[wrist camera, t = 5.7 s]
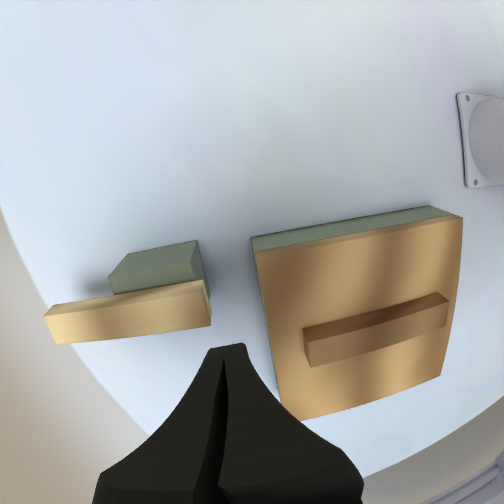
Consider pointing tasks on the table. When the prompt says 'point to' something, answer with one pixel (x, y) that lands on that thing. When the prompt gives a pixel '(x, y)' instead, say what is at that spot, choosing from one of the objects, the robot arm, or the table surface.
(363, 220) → the green piece
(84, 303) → the light wooden bar
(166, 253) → the block
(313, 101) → the table surface
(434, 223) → the lid
